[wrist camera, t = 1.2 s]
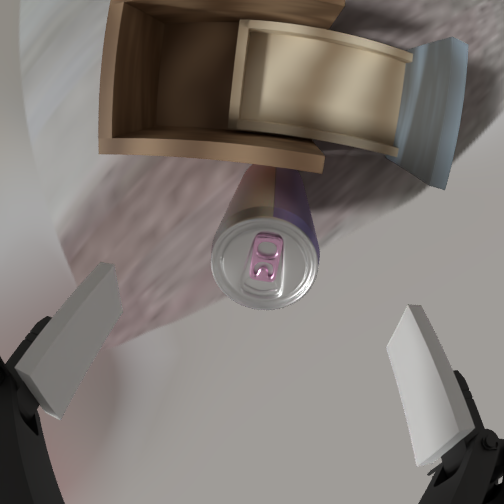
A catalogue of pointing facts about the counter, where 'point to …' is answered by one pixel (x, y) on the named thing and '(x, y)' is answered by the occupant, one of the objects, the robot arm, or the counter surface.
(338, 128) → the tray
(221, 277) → the beverage can
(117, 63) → the caddy
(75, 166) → the counter surface
